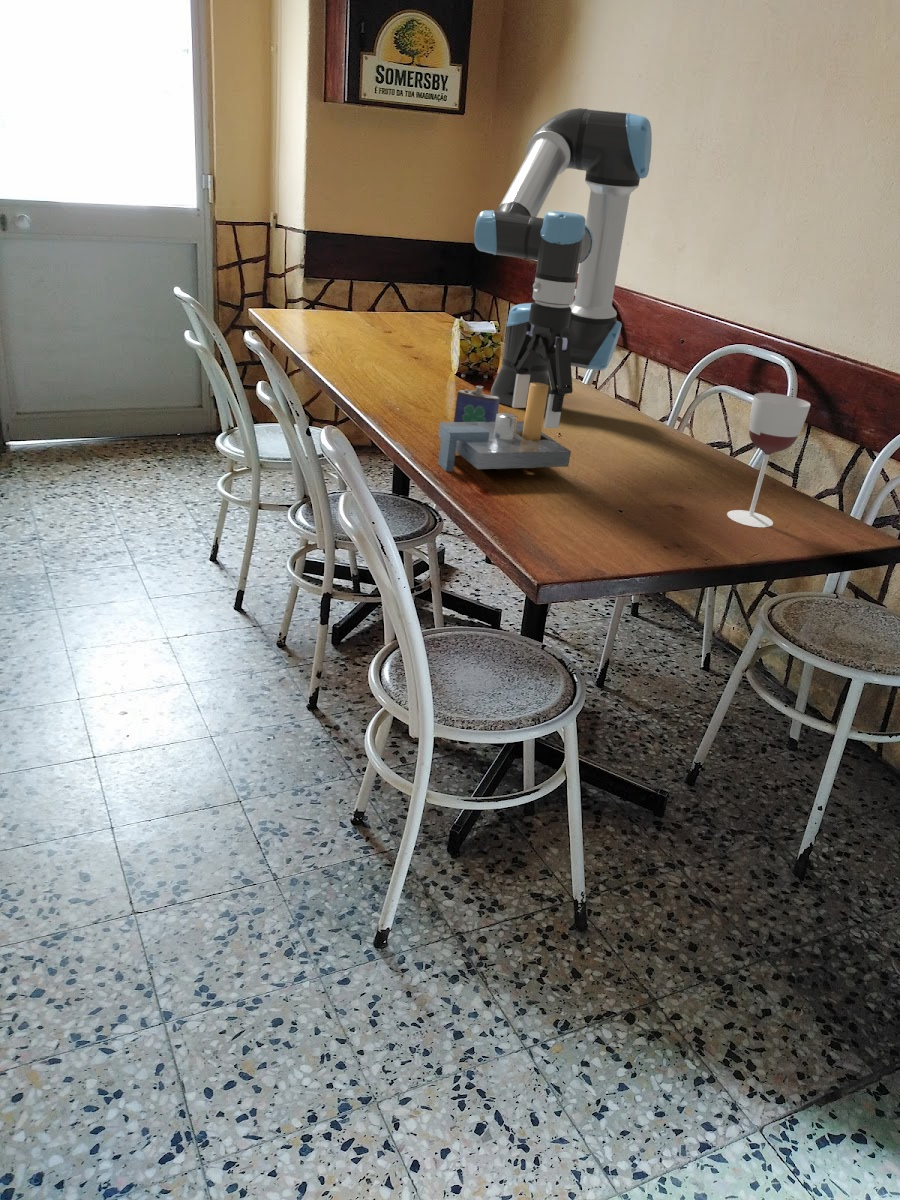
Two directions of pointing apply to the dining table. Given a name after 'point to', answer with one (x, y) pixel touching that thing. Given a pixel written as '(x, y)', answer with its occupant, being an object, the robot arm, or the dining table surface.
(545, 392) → the light orange cylinder
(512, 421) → the grey plate
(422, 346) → the dining table surface
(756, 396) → the wineglass
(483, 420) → the flask
